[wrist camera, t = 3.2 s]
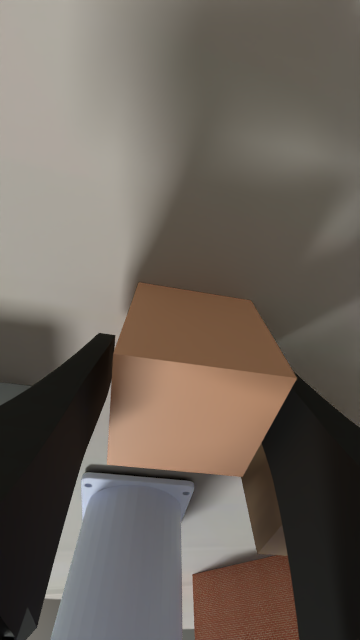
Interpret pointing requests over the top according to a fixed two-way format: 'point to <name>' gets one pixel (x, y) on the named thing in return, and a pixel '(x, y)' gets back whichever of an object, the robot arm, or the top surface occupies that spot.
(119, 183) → the top surface
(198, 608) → the house
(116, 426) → the terracotta block
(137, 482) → the robot arm
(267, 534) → the walnut block
